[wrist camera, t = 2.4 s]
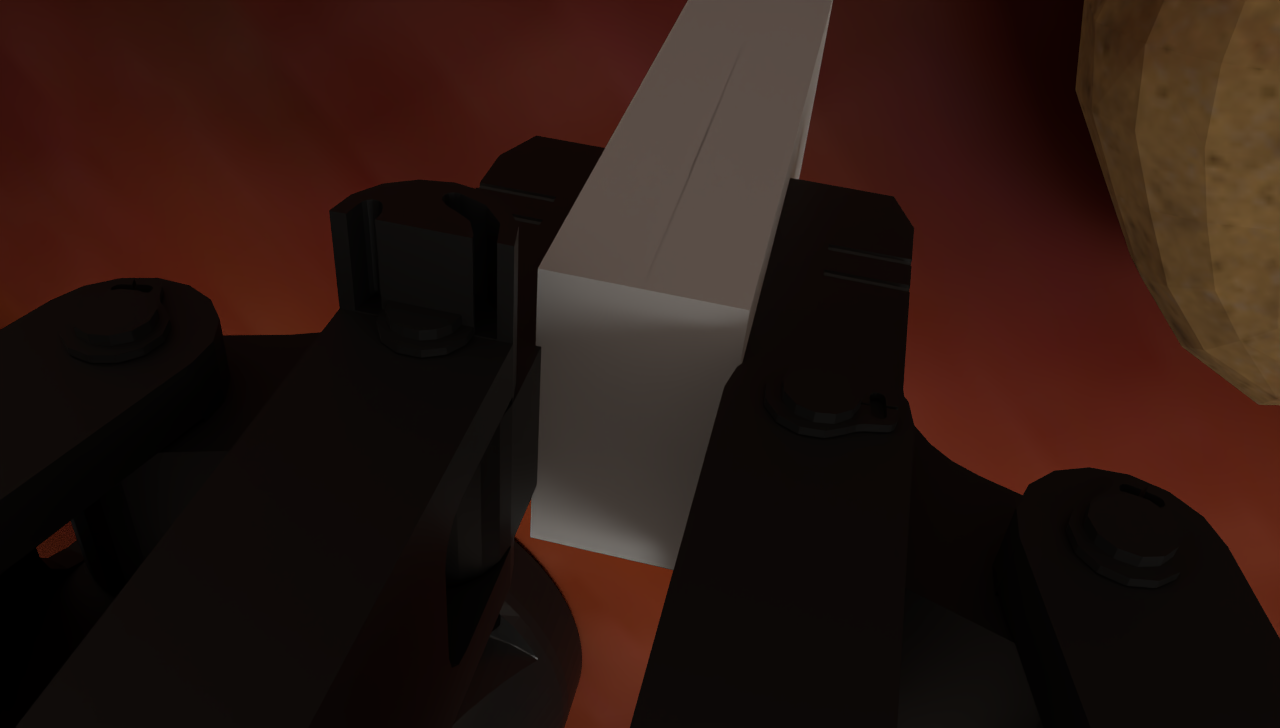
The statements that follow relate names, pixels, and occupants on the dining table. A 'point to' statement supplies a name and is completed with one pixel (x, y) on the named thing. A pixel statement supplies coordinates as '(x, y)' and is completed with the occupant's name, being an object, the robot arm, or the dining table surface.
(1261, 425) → the dining table surface
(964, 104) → the dining table surface
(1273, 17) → the potato
